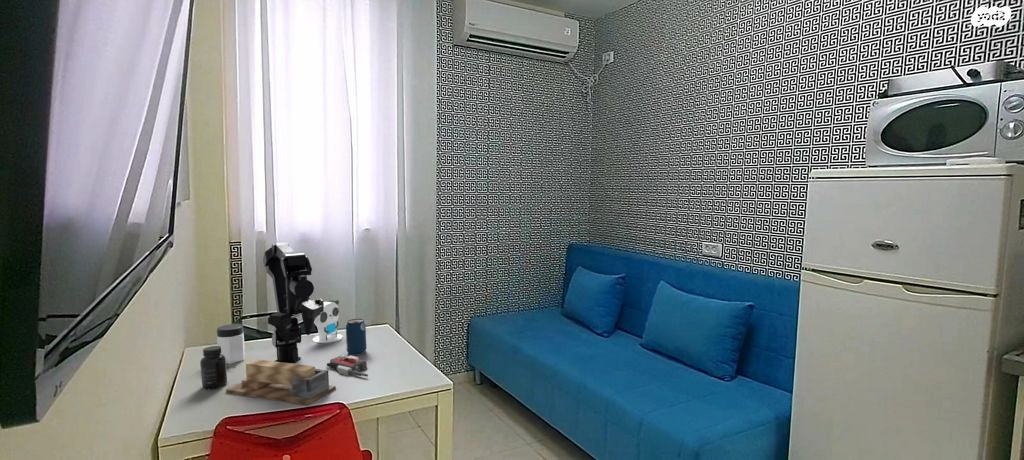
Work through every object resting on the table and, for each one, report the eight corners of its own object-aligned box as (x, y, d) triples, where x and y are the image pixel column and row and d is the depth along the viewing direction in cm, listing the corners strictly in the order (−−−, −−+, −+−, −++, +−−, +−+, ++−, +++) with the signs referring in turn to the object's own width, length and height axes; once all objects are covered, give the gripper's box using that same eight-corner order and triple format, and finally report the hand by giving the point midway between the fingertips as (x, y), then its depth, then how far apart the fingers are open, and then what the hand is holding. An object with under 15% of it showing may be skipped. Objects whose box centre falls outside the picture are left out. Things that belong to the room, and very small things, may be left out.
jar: (220, 357, 185) (218, 325, 184) (245, 354, 188) (244, 322, 187) (217, 365, 177) (214, 331, 176) (243, 362, 180) (241, 328, 179)
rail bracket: (226, 392, 153) (224, 371, 153) (258, 378, 165) (256, 358, 164) (307, 405, 144) (306, 382, 143) (335, 389, 155) (334, 368, 154)
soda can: (370, 351, 190) (369, 319, 189) (355, 357, 184) (354, 324, 183) (357, 348, 194) (356, 317, 193) (342, 353, 188) (341, 321, 187)
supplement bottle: (208, 382, 162) (206, 344, 161) (231, 381, 162) (229, 344, 161) (197, 390, 155) (194, 351, 154) (221, 389, 156) (218, 351, 155)
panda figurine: (328, 344, 199) (326, 306, 198) (305, 341, 203) (303, 304, 202) (348, 336, 210) (347, 300, 209) (326, 333, 214) (324, 298, 213)
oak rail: (246, 379, 155) (245, 363, 155) (257, 374, 159) (256, 359, 159) (306, 387, 148) (305, 371, 148) (315, 382, 152) (315, 366, 152)
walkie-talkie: (321, 370, 172) (365, 381, 162) (320, 357, 172) (364, 367, 162) (341, 362, 180) (384, 372, 170) (341, 350, 179) (384, 359, 169)
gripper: (293, 301, 154) (295, 351, 156) (335, 288, 171) (337, 333, 173) (265, 297, 158) (267, 346, 159) (309, 285, 175) (310, 330, 177)
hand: (297, 339), depth 167 cm, fingers open, 9 cm apart
